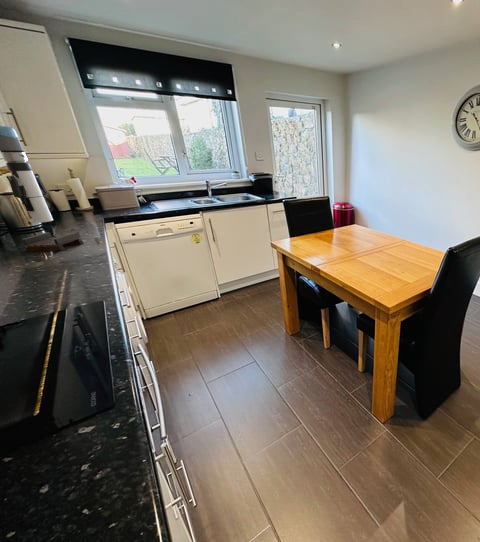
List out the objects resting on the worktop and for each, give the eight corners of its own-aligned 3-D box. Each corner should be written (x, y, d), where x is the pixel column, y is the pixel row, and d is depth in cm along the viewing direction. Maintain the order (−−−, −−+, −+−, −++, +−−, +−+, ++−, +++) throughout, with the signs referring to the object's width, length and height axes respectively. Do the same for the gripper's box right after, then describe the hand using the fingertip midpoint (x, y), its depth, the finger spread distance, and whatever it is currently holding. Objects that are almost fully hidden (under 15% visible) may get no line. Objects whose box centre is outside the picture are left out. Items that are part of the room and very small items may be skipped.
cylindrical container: (51, 221, 146) (29, 170, 136) (31, 223, 142) (7, 171, 132) (54, 218, 152) (34, 169, 141) (35, 220, 148) (13, 170, 138)
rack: (27, 252, 145) (21, 239, 142) (52, 244, 158) (47, 232, 155) (61, 252, 146) (56, 239, 144) (83, 243, 159) (78, 231, 156)
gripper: (3, 163, 127) (27, 213, 136) (45, 161, 145) (63, 205, 154) (-15, 162, 126) (9, 213, 135) (29, 160, 144) (48, 205, 153)
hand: (38, 209), depth 144 cm, fingers closed on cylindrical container, 7 cm apart
